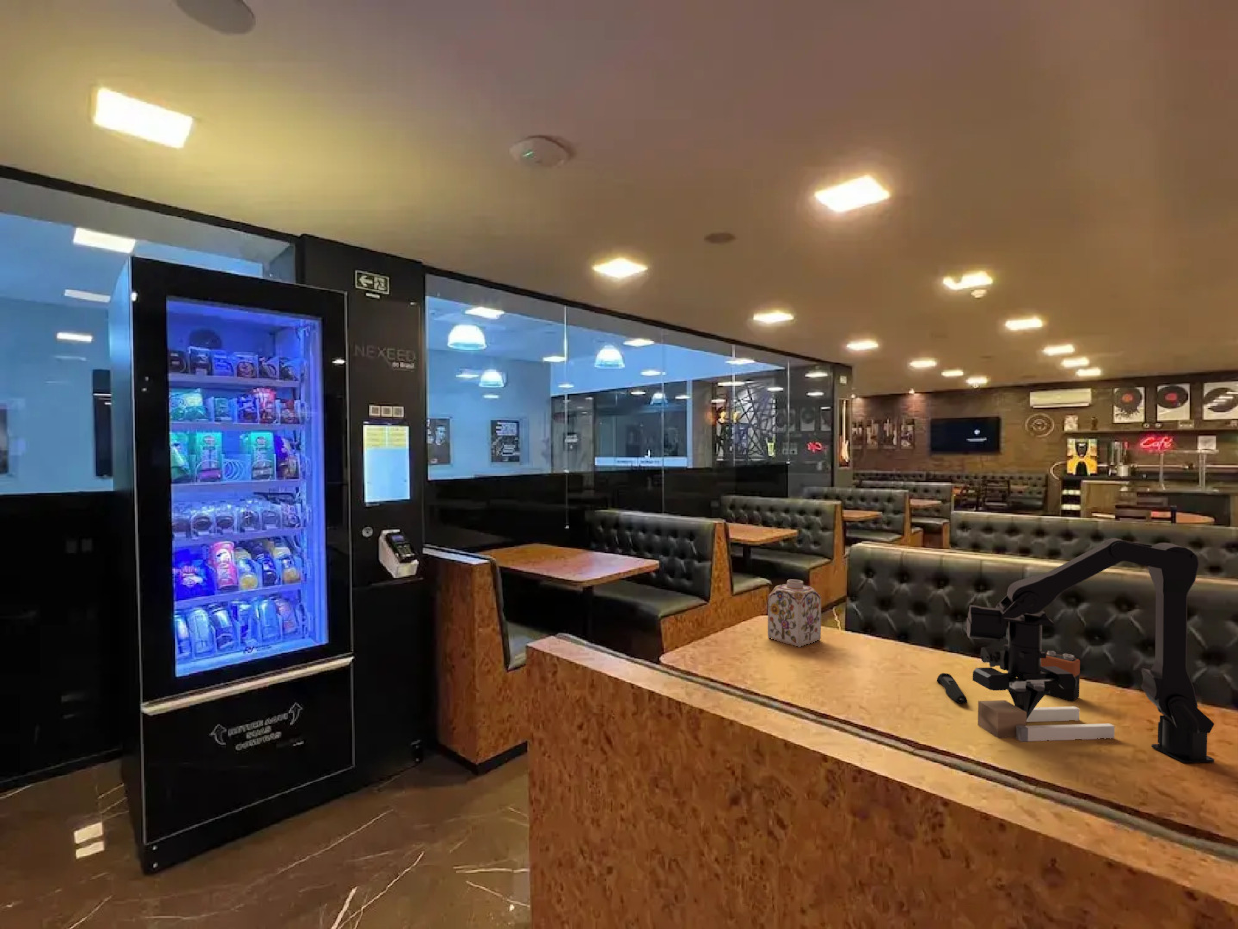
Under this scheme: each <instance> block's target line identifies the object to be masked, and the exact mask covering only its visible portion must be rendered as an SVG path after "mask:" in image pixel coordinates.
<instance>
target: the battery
mask: <svg viewBox="0 0 1238 929" xmlns="http://www.w3.org/2000/svg"><path fill="white" fill-rule="evenodd" d="M1045 653H1046V658H1041V667H1043V666H1056V667H1058V668H1061V669H1063V670H1065V671H1067V672H1070V673H1072V674H1073V675H1074V677H1075V679H1076V689H1063V688H1061V687H1060V686H1059V684H1058V682H1044V685H1045V688H1046V689H1048V690H1050V693H1046V694H1045V695H1047V694H1048V696H1051V695H1052V696H1053V697H1055V698H1058V697H1059V699H1063V700H1066V699H1067V700H1066V701H1069V700H1070V702H1074V701H1075V700H1077V699H1078V698H1079V697H1080V681H1081V680H1080V676H1081V670H1080V669H1081V660H1080V659H1079V658H1076V657H1075V655H1073V654H1069V653H1063V654H1058V653H1056V651H1054V650H1047V652H1045ZM1052 696H1051V697H1052Z"/></svg>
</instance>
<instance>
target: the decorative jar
mask: <svg viewBox="0 0 1238 929" xmlns="http://www.w3.org/2000/svg"><path fill="white" fill-rule="evenodd" d="M767 603H768V604H767V609H768V610H767V638H768V639H769V638H772V639H774V640H773V641H775V640H777V641H776V642H779V641H780V642H779V643H782V642H783V643H782V644H785V643H786V645H789V644H792V645H791V646H793V645H795V646H794V647H796V646H798V647H797V648H802V647H805V646H807V645H806V644H808V645H811V644H814V643H816V642H815V641H817V640H820V639H821V638H822V636H821V633H822V596H821V595H820V594H819V593H818V591H817V590H816V589H815V588H813V587H812V586H809V585H805V584H804V581H803V580H801V579H791V578H790V579H788V580H787V581H786V583H785V584H784V583H783V584H779V585H776V586H775V587H774V588H773V589H772V591H770V593H768V602H767ZM820 641H821V640H820ZM813 642H814V643H813ZM817 642H818V641H817ZM810 643H811V644H810ZM804 645H805V646H804ZM801 646H802V647H801Z"/></svg>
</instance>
